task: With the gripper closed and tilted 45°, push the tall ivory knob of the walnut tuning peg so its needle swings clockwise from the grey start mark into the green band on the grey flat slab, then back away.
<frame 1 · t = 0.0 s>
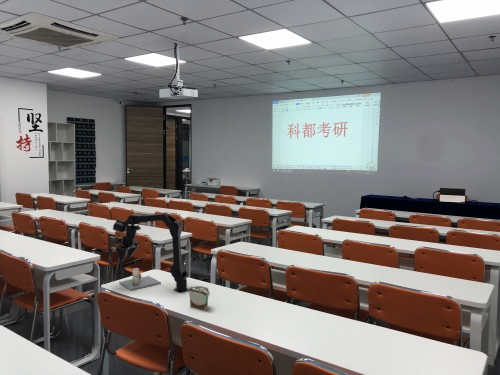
hand: (124, 260, 225), 15 cm above the table, tool pointing down, fingers open, 9 cm apart
grey flat slab: (140, 283, 231), on the table
tuning peg: (136, 274, 231), point 6 cm above the table, hinge at 0.0°
food container: (201, 307, 196), on the table
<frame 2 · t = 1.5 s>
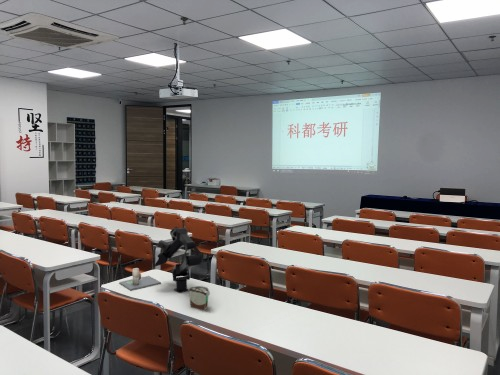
hand: (157, 264, 225), 14 cm above the table, tool tilted 45°, fingers open, 7 cm apart
nothing on the table moved.
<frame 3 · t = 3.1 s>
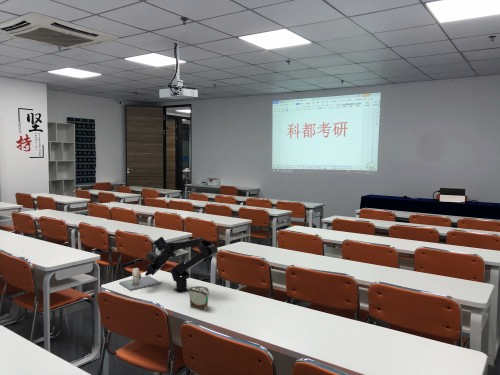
hand: (145, 275, 226), 7 cm above the table, tool tilted 45°, fingers closed
nothing on the table moved.
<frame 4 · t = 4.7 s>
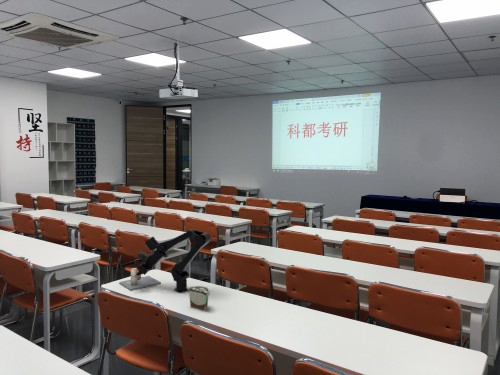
hand: (137, 275, 226), 7 cm above the table, tool tilted 45°, fingers closed, pressing on tuning peg
tuning peg: (135, 274, 231), point 6 cm above the table, hinge at -6.3°, touching gripper
everything else where it was.
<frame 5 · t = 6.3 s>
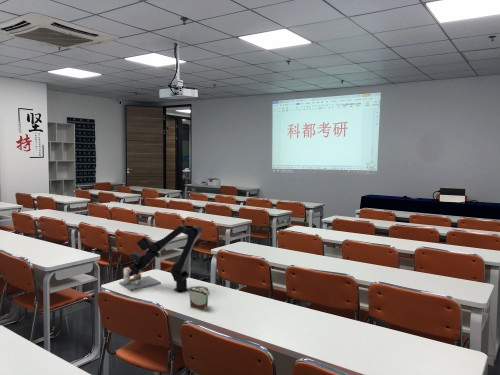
hand: (129, 275, 226), 7 cm above the table, tool tilted 45°, fingers closed
tuning peg: (132, 273, 231), point 6 cm above the table, hinge at -35.2°, touching gripper
everything else where it was.
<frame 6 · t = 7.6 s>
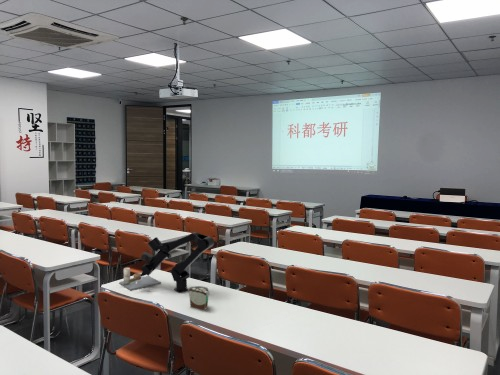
hand: (141, 275, 226), 6 cm above the table, tool tilted 45°, fingers closed
tuning peg: (132, 273, 231), point 6 cm above the table, hinge at -35.2°
everything else where it was.
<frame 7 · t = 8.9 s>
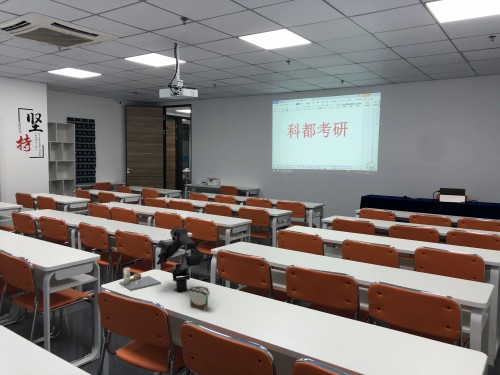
hand: (157, 264, 225), 14 cm above the table, tool tilted 45°, fingers closed
nothing on the table moved.
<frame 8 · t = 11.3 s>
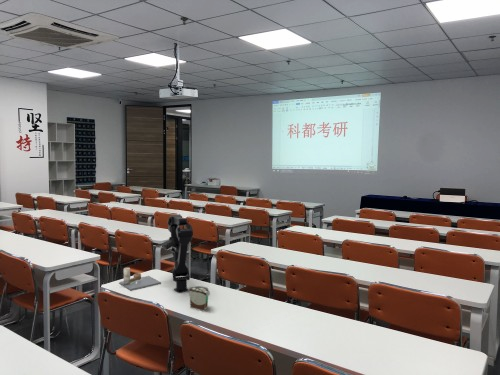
hand: (175, 260, 234), 13 cm above the table, tool pointing down, fingers closed
nothing on the table moved.
at the end: tuning peg at -35° (first picture: +0°); food container moved 0.2 cm from its start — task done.
